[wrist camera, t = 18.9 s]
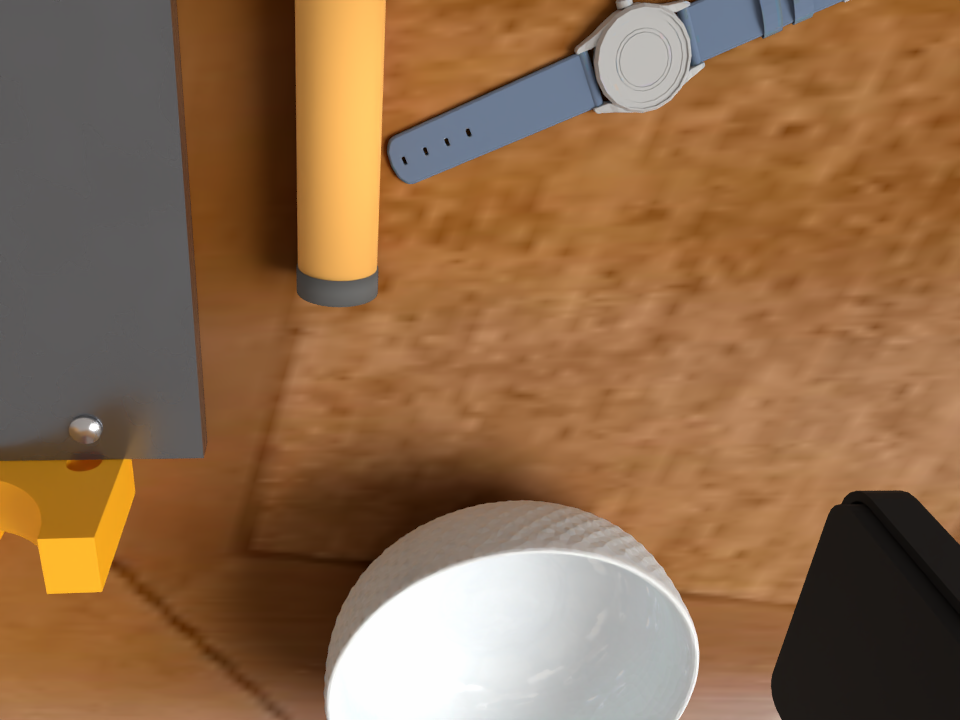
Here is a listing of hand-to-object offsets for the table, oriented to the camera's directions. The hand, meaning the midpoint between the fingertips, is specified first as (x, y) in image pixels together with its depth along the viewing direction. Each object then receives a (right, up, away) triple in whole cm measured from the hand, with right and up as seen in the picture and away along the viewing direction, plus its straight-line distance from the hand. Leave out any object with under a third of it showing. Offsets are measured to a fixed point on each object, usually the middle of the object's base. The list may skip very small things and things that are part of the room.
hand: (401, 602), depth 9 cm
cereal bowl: (+1, -9, +35) cm, 36 cm away
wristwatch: (+7, +14, +24) cm, 28 cm away
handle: (-4, +12, +22) cm, 26 cm away
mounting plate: (-15, +9, +22) cm, 28 cm away
